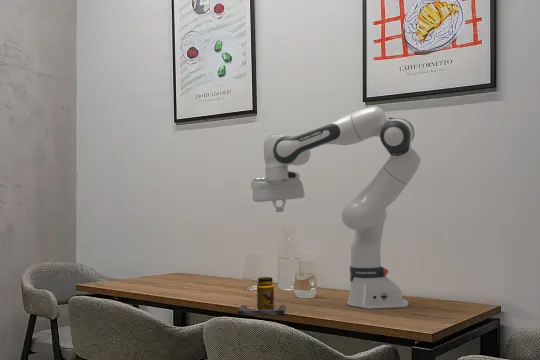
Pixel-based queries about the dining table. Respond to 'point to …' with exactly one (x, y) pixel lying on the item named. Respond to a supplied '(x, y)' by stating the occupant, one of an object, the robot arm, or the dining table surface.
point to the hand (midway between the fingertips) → (280, 211)
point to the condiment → (265, 294)
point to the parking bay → (261, 311)
